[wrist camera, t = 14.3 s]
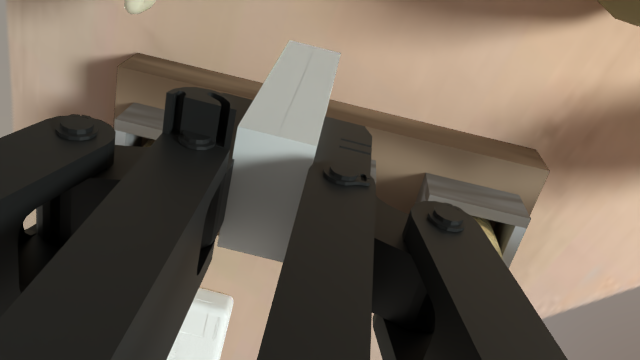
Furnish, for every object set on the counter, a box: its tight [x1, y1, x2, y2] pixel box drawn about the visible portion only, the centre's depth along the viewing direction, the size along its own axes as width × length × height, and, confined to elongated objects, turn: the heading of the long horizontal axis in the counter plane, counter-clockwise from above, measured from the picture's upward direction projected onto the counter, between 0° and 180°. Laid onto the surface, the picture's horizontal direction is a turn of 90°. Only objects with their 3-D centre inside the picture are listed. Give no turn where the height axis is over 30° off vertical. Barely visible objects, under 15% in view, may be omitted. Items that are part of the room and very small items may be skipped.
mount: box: [113, 53, 550, 269], centre depth 45 cm, size 12×32×8 cm, turn 77°
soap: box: [167, 288, 233, 360], centre depth 55 cm, size 9×6×3 cm, turn 165°
